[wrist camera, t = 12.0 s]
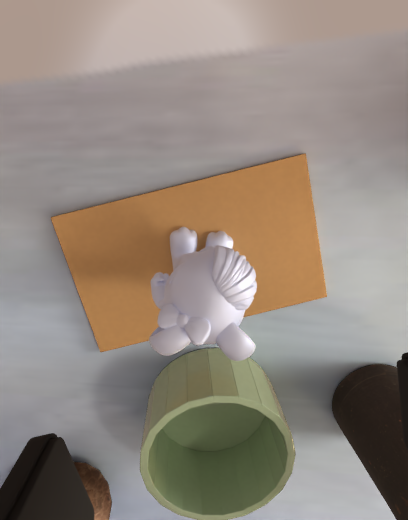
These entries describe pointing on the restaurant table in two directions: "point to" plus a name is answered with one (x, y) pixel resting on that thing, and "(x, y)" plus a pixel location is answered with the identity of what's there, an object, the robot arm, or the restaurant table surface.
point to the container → (376, 430)
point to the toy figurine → (203, 296)
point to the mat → (202, 222)
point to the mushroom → (96, 490)
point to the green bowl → (214, 437)
